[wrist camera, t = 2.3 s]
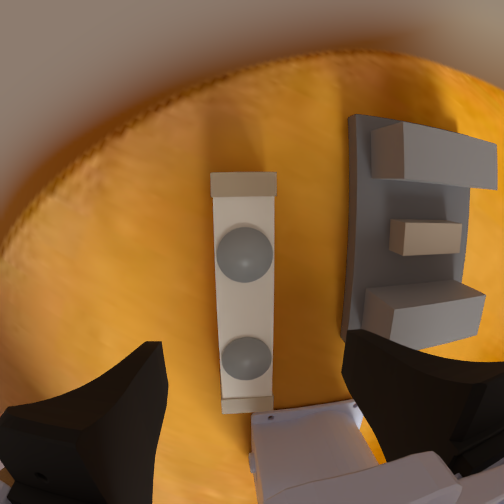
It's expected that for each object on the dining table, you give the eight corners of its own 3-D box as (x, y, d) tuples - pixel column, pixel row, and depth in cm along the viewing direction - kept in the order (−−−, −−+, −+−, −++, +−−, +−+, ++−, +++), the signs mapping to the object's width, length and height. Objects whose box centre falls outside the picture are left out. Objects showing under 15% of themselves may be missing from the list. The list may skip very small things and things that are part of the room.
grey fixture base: (444, 319, 22) (481, 344, 18) (340, 336, 21) (368, 373, 17) (458, 137, 19) (503, 132, 14) (347, 117, 18) (385, 100, 13)
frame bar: (221, 382, 21) (222, 414, 18) (211, 174, 18) (210, 172, 15) (265, 379, 22) (273, 411, 18) (265, 174, 19) (276, 171, 15)
